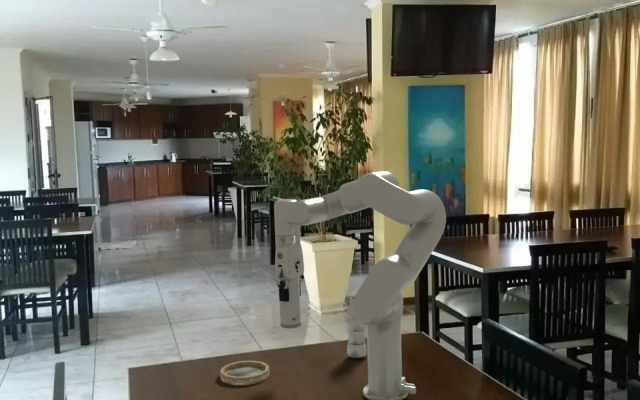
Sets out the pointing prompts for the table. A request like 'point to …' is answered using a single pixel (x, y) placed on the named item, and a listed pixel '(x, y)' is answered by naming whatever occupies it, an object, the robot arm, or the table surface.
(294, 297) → the travel mug
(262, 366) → the round tray
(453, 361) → the table surface
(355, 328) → the plastic bottle
